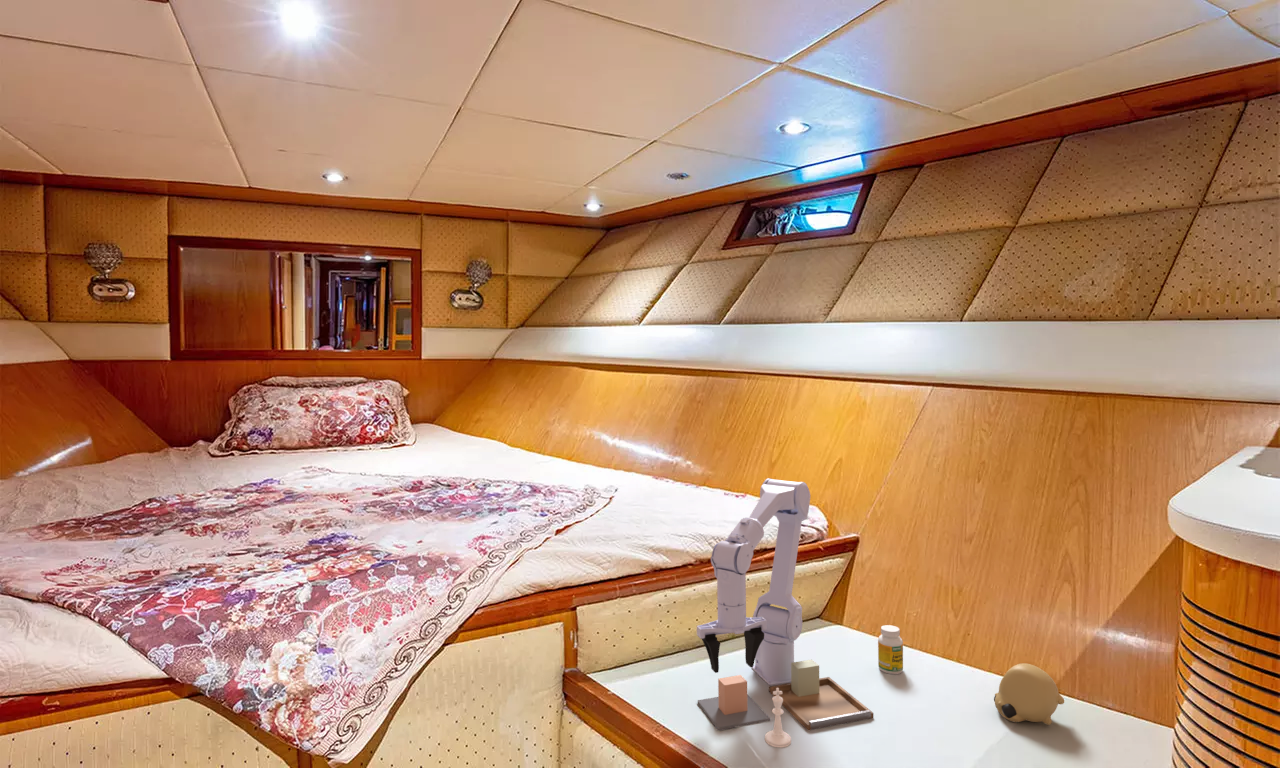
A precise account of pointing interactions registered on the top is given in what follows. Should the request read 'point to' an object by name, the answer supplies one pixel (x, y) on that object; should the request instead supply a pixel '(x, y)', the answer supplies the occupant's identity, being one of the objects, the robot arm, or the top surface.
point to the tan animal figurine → (1027, 695)
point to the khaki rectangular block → (805, 678)
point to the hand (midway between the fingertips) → (732, 667)
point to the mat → (735, 719)
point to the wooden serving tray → (823, 705)
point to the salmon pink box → (732, 694)
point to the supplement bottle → (890, 650)
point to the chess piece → (777, 725)
